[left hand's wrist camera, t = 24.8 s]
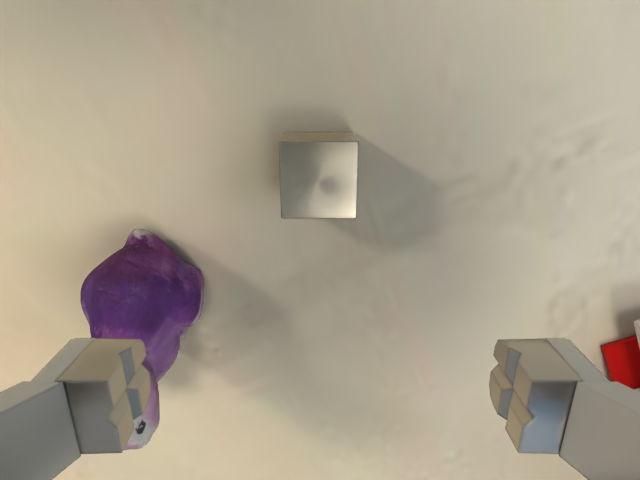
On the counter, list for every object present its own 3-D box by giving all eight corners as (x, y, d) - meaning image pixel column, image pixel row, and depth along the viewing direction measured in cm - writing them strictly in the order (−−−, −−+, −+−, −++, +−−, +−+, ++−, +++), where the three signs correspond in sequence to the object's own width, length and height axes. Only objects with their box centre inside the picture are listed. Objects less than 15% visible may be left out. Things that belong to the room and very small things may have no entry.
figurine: (177, 365, 39) (96, 530, 25) (78, 293, 36) (-76, 431, 22) (247, 296, 36) (202, 434, 22) (146, 214, 34) (22, 311, 20)
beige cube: (351, 199, 34) (356, 218, 29) (286, 199, 34) (281, 218, 29) (353, 131, 32) (358, 141, 27) (284, 131, 32) (278, 140, 27)
